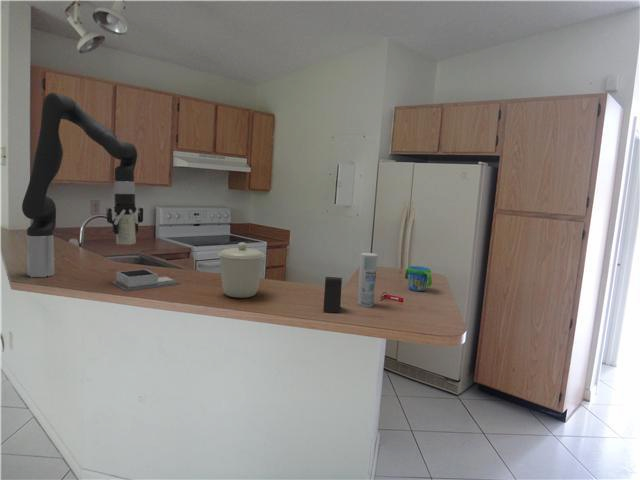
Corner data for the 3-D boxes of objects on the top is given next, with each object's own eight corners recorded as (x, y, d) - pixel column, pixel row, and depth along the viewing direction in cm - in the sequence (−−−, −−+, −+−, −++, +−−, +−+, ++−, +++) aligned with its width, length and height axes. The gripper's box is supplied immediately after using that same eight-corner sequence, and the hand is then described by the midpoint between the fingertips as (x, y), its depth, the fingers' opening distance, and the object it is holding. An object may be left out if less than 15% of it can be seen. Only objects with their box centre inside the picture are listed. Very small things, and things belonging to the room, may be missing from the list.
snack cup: (437, 293, 191) (439, 271, 190) (417, 294, 187) (419, 272, 185) (416, 285, 205) (418, 264, 204) (397, 286, 201) (399, 265, 200)
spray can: (362, 307, 162) (366, 255, 159) (354, 302, 168) (357, 252, 165) (376, 306, 165) (380, 255, 162) (368, 301, 171) (372, 252, 168)
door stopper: (323, 305, 162) (325, 274, 160) (339, 306, 162) (341, 275, 160) (323, 312, 153) (325, 279, 151) (339, 313, 153) (342, 280, 151)
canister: (223, 302, 157) (225, 246, 154) (212, 290, 173) (213, 239, 170) (269, 299, 165) (272, 245, 162) (254, 287, 181) (256, 238, 178)
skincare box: (136, 243, 176) (135, 214, 174) (130, 245, 172) (130, 214, 170) (121, 242, 176) (120, 213, 175) (115, 244, 172) (114, 214, 170)
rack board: (126, 291, 164) (126, 278, 163) (112, 283, 174) (112, 271, 173) (179, 284, 179) (179, 272, 179) (164, 277, 189) (164, 266, 188)
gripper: (138, 192, 179) (139, 231, 181) (102, 192, 169) (103, 233, 171) (146, 193, 174) (147, 233, 176) (109, 192, 164) (110, 235, 166)
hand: (125, 233), depth 173 cm, fingers closed on skincare box, 7 cm apart
